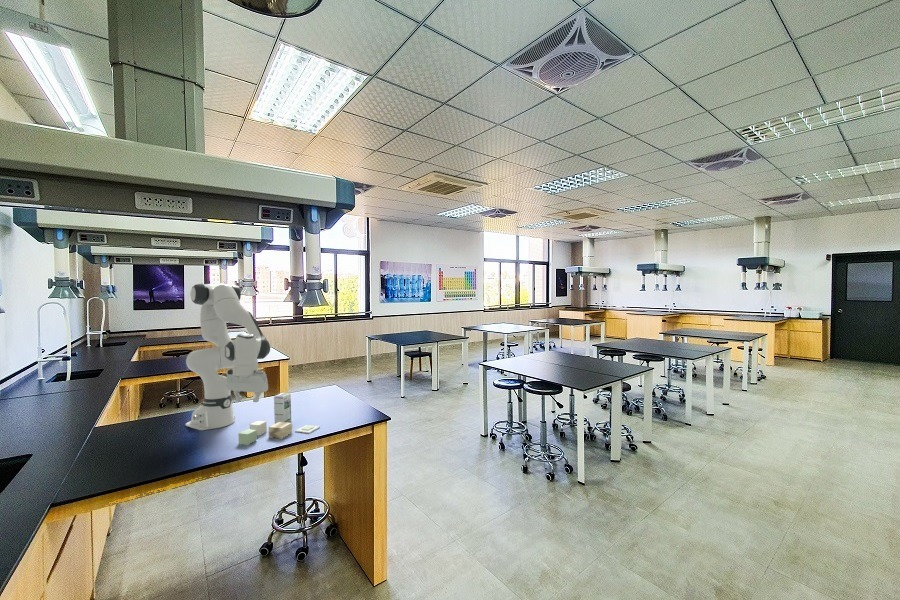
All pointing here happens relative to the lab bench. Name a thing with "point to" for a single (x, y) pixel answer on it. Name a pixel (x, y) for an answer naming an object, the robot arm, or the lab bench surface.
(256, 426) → the off-white block
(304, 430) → the tile
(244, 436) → the sage block
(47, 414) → the lab bench surface
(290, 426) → the birch base block
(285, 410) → the syrup box
